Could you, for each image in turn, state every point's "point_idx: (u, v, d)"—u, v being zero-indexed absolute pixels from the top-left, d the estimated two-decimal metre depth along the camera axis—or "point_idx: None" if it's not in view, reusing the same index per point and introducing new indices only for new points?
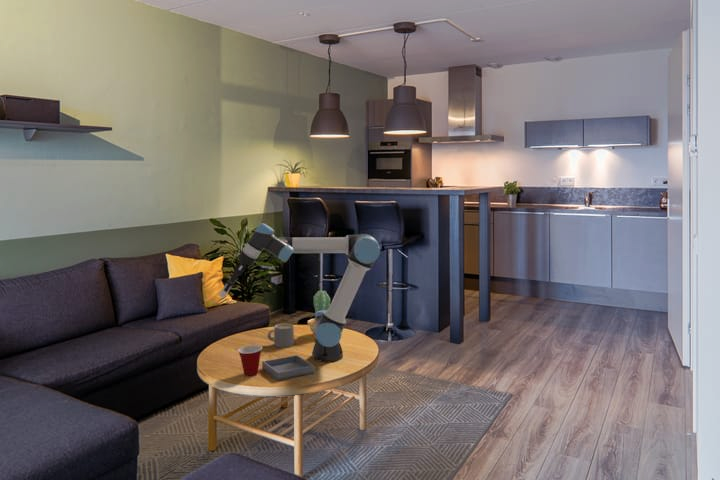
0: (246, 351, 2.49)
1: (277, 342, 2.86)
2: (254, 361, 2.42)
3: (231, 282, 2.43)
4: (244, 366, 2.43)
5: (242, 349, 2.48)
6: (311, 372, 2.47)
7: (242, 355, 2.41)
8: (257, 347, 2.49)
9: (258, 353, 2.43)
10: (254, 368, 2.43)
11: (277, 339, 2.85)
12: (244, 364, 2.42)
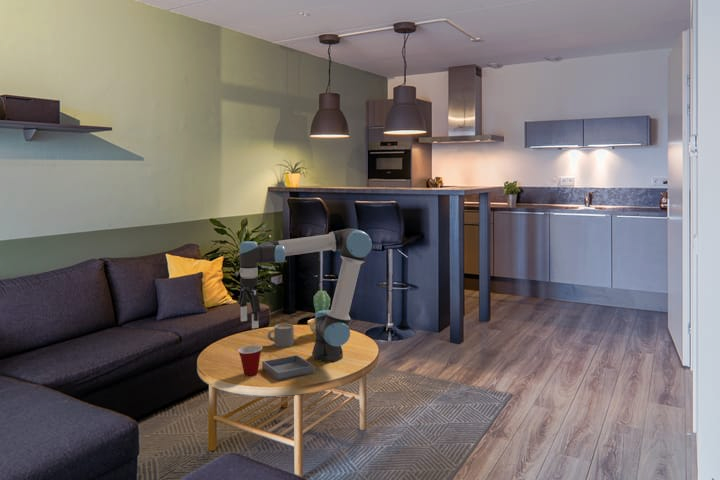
0: (246, 351, 2.49)
1: (277, 342, 2.86)
2: (254, 361, 2.42)
3: None
4: (244, 366, 2.43)
5: (242, 349, 2.48)
6: (311, 372, 2.47)
7: (242, 355, 2.41)
8: (257, 347, 2.49)
9: (258, 353, 2.43)
10: (254, 368, 2.43)
11: (277, 339, 2.85)
12: (244, 364, 2.42)
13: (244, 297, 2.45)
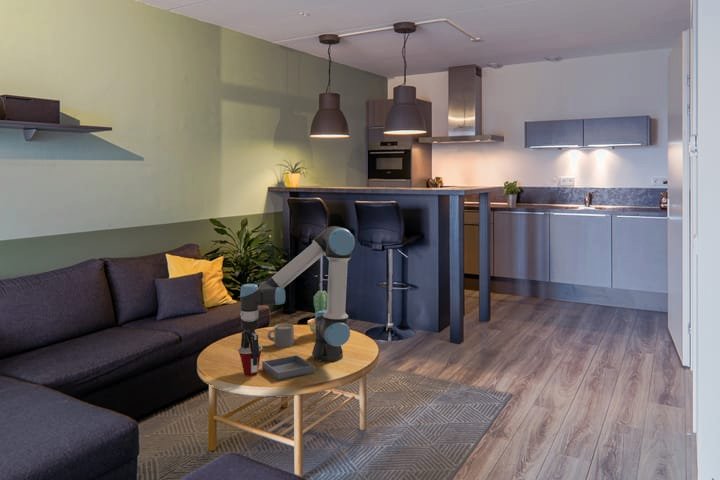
0: (246, 351, 2.49)
1: (277, 342, 2.86)
2: None
3: None
4: (244, 366, 2.43)
5: (242, 349, 2.48)
6: (311, 372, 2.47)
7: (242, 355, 2.41)
8: None
9: None
10: None
11: (277, 339, 2.85)
12: (244, 364, 2.42)
13: (245, 340, 2.46)
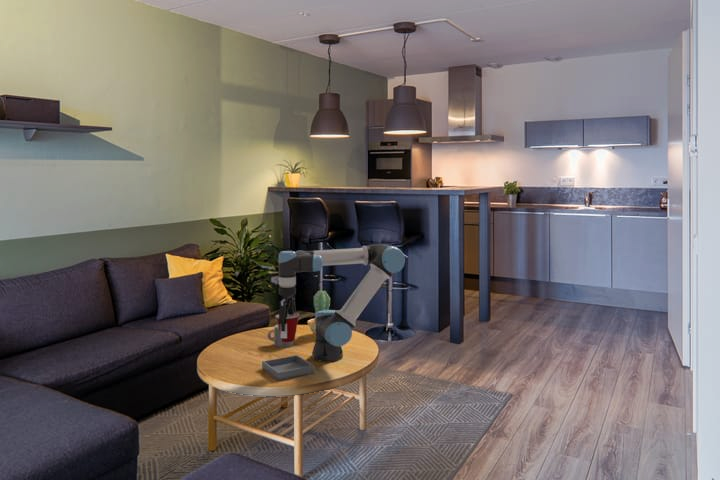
0: None
1: (277, 342, 2.86)
2: None
3: None
4: None
5: None
6: (311, 372, 2.47)
7: (277, 319, 2.47)
8: None
9: (289, 320, 2.43)
10: None
11: (277, 339, 2.85)
12: (279, 328, 2.47)
13: None
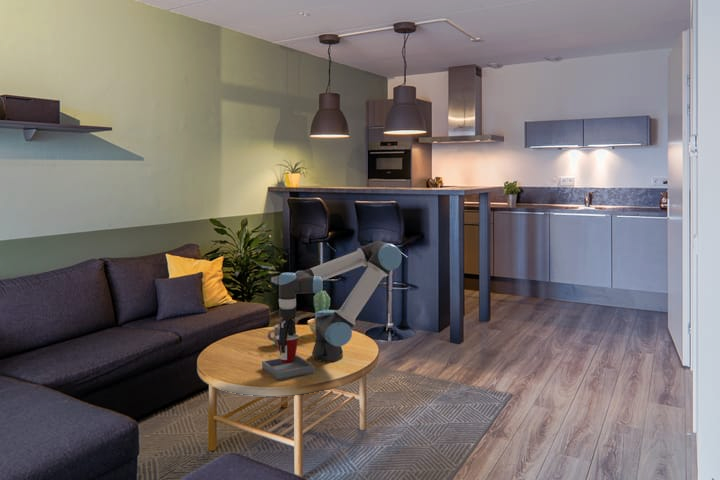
0: (290, 339, 2.53)
1: (277, 342, 2.86)
2: None
3: None
4: None
5: None
6: (311, 372, 2.47)
7: (277, 340, 2.48)
8: (298, 337, 2.50)
9: (289, 342, 2.44)
10: None
11: None
12: (279, 350, 2.48)
13: None
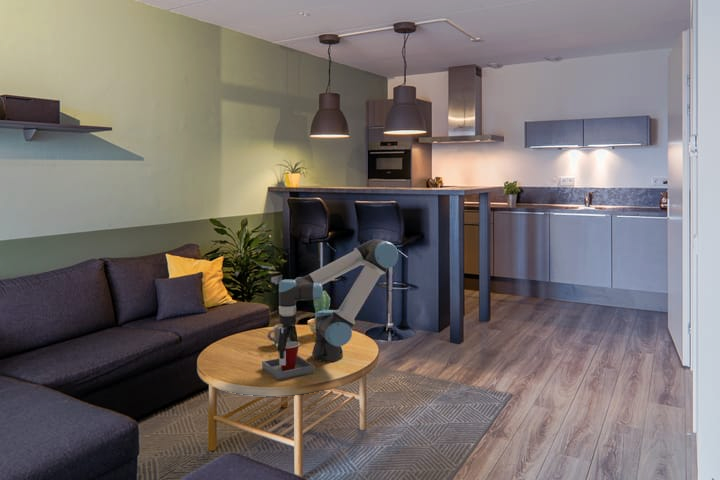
0: (290, 346, 2.53)
1: (277, 342, 2.86)
2: None
3: None
4: None
5: (287, 343, 2.54)
6: (311, 372, 2.47)
7: None
8: (298, 345, 2.50)
9: (289, 350, 2.45)
10: (286, 364, 2.46)
11: (277, 339, 2.85)
12: None
13: None
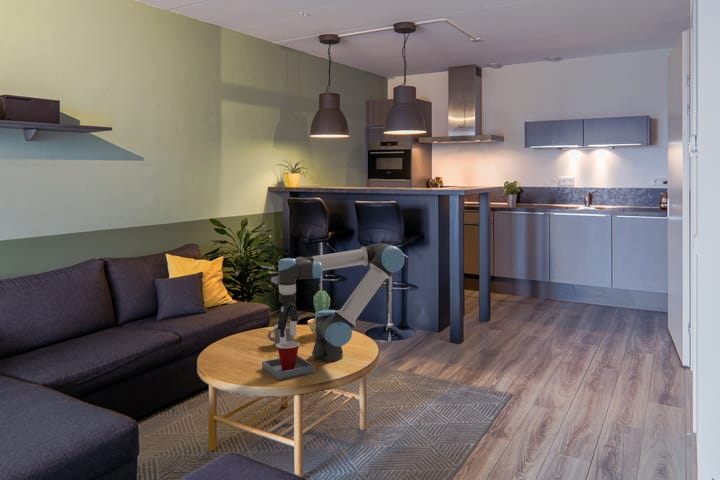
0: (290, 347, 2.53)
1: (277, 342, 2.86)
2: (285, 357, 2.46)
3: None
4: (280, 360, 2.49)
5: (287, 343, 2.54)
6: (311, 372, 2.47)
7: (277, 348, 2.48)
8: (298, 345, 2.50)
9: (289, 350, 2.45)
10: (286, 364, 2.46)
11: (277, 339, 2.85)
12: None
13: None
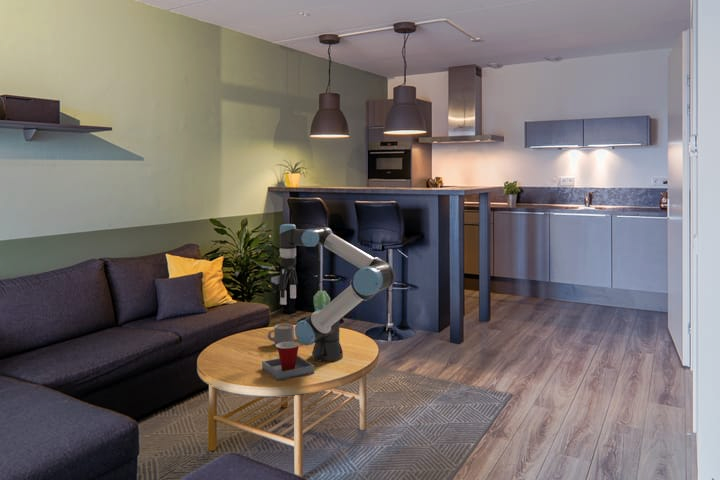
0: (290, 347, 2.53)
1: (277, 342, 2.86)
2: (285, 357, 2.46)
3: None
4: (280, 360, 2.49)
5: (287, 343, 2.54)
6: (311, 372, 2.47)
7: (277, 348, 2.48)
8: (298, 345, 2.50)
9: (289, 350, 2.45)
10: (286, 364, 2.46)
11: (277, 339, 2.85)
12: None
13: None
